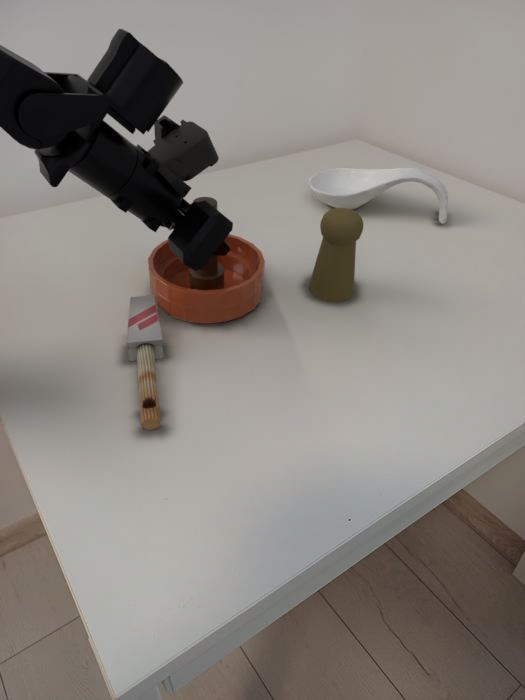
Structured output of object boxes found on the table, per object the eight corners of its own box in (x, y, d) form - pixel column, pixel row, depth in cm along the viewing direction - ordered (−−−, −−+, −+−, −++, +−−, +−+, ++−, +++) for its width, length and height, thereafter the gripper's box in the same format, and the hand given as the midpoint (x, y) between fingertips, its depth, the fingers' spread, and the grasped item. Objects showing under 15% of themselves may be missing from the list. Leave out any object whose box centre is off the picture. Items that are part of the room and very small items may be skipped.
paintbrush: (157, 285, 62) (169, 413, 48) (159, 302, 64) (171, 431, 50) (124, 287, 61) (127, 418, 47) (127, 305, 63) (130, 436, 49)
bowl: (138, 319, 62) (133, 285, 59) (168, 258, 73) (165, 226, 69) (254, 333, 61) (256, 298, 58) (267, 269, 72) (270, 237, 68)
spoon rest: (300, 210, 86) (304, 168, 81) (313, 183, 94) (318, 144, 90) (445, 235, 82) (458, 193, 77) (445, 204, 90) (457, 164, 86)
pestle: (202, 303, 64) (199, 214, 56) (183, 286, 67) (178, 199, 59) (231, 291, 66) (232, 204, 58) (211, 276, 69) (210, 190, 61)
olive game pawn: (306, 298, 67) (316, 221, 60) (311, 273, 72) (321, 199, 64) (352, 305, 66) (368, 228, 59) (354, 279, 71) (369, 205, 64)
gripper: (214, 131, 44) (304, 221, 56) (128, 76, 55) (219, 161, 67) (137, 235, 45) (241, 301, 58) (69, 162, 57) (168, 229, 69)
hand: (216, 242), depth 63 cm, fingers open, 5 cm apart
